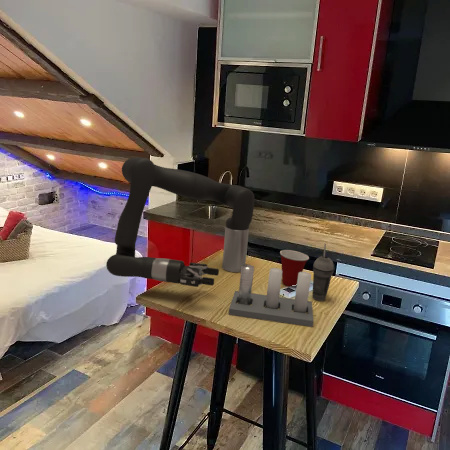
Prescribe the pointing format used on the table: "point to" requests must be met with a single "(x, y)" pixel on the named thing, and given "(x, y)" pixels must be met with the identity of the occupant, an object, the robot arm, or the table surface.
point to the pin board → (278, 302)
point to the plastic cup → (292, 266)
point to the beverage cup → (322, 276)
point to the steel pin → (245, 284)
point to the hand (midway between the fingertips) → (216, 277)
